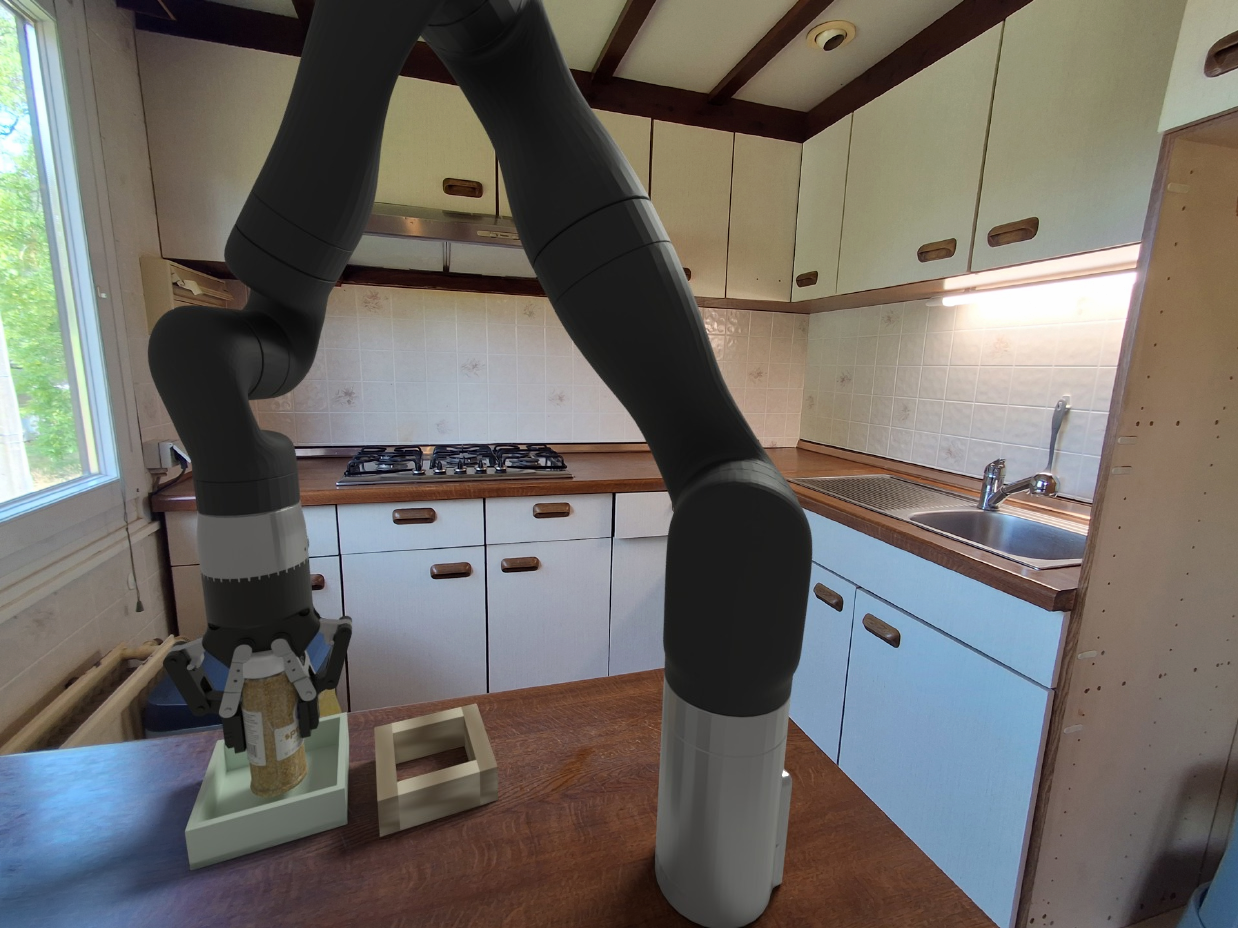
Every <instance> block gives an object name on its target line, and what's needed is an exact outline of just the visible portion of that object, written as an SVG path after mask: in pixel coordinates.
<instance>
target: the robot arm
mask: <svg viewBox="0 0 1238 928" xmlns="http://www.w3.org/2000/svg"><path fill="white" fill-rule="evenodd" d="M546 9H547V8H546V7H545V3H544V1H543V0H316V1H315V4H314V7H313V10H312V15H311V18H310V22H309V26H308V29H307V33H306V36H305V41H304V44H303V49H302V51H301V52H302V53H301V56H300V58H299V59H300V60H299V64H298V67H297V71H296V74H295V79H294V82H293V85H292V89H291V91H290V95H289V98H288V102H287V105H286V108H285V111H284V114H283V118H282V119H281V122H280V126H279V128H278V131H277V134H276V136H275V138H274V141H273V143H272V145H271V147H270V149H269V152H268V155H267V156H266V159H265V161H264V163H263V165H262V167H261V170H260V172H259V173H258V175H257V177H256V179H255V181H254V184H253V186H252V188H251V190H250V192H249V194H248V196H247V198H246V200H245V202H244V203H243V206H242V208H241V210H240V213H239V214H238V216H237V219H236V220H235V223H234V225H233V226H232V229H231V231H230V233H229V235H228V237H227V240H226V243H225V246H224V250H223V251H224V253H223V256H224V257H223V258H224V263H225V265H226V267H227V268H228V270H229V271H230V272H231V274H232V275H233V276H234V277H235V278H236V280H238V281H240V282H241V283H242V284H243V285H244V286H246V287H247V288H249V296H248V299H247V301H246V303H245V305H244V307H243V308H242V309H239V308H238V309H235V308H228V307H227V308H226V307H219V306H209V305H200V304H189V305H187V304H186V305H179V306H177V307H175V308H172V309H169V310H168V311H166V312H165V313H163V315H161V317H160V318H159V319H158V320H157V321H156V322H155V324H154V326H153V328H152V330H151V331H150V336H149V339H148V345H147V363H148V367H149V371H150V375H151V379H152V381H153V383H154V386H155V388H156V390H157V393H158V395H159V396H160V399H161V401H162V403H163V405H164V408H165V409H166V411H167V414H168V416H169V417H170V419H171V423H172V424H173V427H174V429H175V432H177V435H178V438H179V440H180V441H181V443H182V446H183V447H184V449H185V451H186V454H187V455H188V458H189V460H190V463H191V473H192V478H193V479H192V481H193V482H192V483H193V489H194V496H195V503H196V504H195V505H196V514H197V518H196V519H197V521H196V522H197V523H196V546H197V547H196V548H197V554H198V555H197V556H198V561H199V569H200V576H201V586H202V593H203V601H204V609H205V616H206V624H207V626H206V629H205V632H204V633H203V636H202V637H200V638H199V637H198V638H197V639H194V640H191V641H189V642H187V641H185V640H179V641H175V642H174V644H172V646H171V647H170V649H169V651H168V652H167V654H166V655H165V657H164V659H163V660H162V666H163V668H164V669H165V671H166V673H167V674H168V676H169V677H170V678H171V681H172V683H173V684H174V686H175V687H176V689H177V691H178V692H179V693H180V696H181V697H182V699H183V701H184V702H185V704H186V705H187V707H188V708H189V710H190V712H191V714H192V715H193V716H195V717H203V716H205V715H207V714H213V715H216V716H217V715H218V716H219V717H220V719H221V726H222V732H223V739H224V742H225V745H226V746H227V748H228V749H229V748H234V751H235V754H237V753H241V752H245V751H246V742H245V733H244V724H243V717H242V709H241V703H242V701H241V700H242V698H241V692H242V688H243V684H244V680H245V678H244V677H243V664H244V663H246V662H248V661H249V660H250V657H251V654H252V653H256V652H262V651H267V650H273V652H274V654H275V656H276V657H283V660H284V668H285V670H284V671H285V673H286V675H287V676H288V678H289V680H290V682H291V683H293V684H294V685H295V687H296V689H297V691H298V693H299V695H300V697H299V703H298V705H299V715H300V725H301V735H302V738H306V737H310V736H311V733H312V730H313V729H317V727H318V724H319V718H321V717H320V715H321V713H320V712H321V711H320V701H319V700H320V699H319V695H320V694H321V693H322V692H324V691H326V690H327V691H328V690H329V691H331V690H334V689H336V688H338V685H339V683H340V679H341V675H342V672H343V667H344V664H345V660H346V657H347V653H348V649H349V647H350V644H351V643H350V642H351V638H352V634H353V618H352V617H351V616H350V615H342V616H340V617H339V618H338V619H336V618H335V619H334V618H333V619H332V618H326V617H325V618H324V617H323V618H322V617H321V615H320V613H319V612H318V611H317V610H316V609H315V606H314V600H313V589H312V580H311V579H312V578H311V576H312V575H311V567H310V565H311V564H310V556H309V554H310V553H309V548H310V539H309V536H308V533H307V524H306V519H305V516H304V511H303V507H302V502H301V501H302V500H301V492H300V491H301V490H300V478H299V470H298V459H297V453H296V449H295V445H294V442H293V441H292V439H291V438H289V436H287V435H286V434H283V433H281V432H279V431H275V430H274V431H273V430H269V429H261V428H260V426H259V424H258V421H257V419H256V417H255V415H254V412H253V410H252V407H251V403H250V401H257V400H268V399H269V400H271V399H275V398H279V397H282V396H284V395H286V394H289V393H290V392H292V391H293V390H295V388H297V387H298V386H299V385H300V384H301V383H302V381H304V379H305V378H306V376H307V374H308V373H309V372H310V371H311V369H312V366H313V364H314V362H315V359H316V355H317V351H318V349H319V348H318V347H319V344H320V340H321V337H322V336H321V335H322V331H323V327H324V324H325V319H326V313H327V307H328V301H329V297H330V294H331V292H332V291H333V289H334V288H335V286H336V284H337V282H338V280H339V279H340V277H341V275H342V273H343V272H344V270H345V269H346V266H347V265H348V264H349V261H350V259H351V258H352V256H353V254H354V252H355V250H356V248H357V247H358V246H359V243H360V241H361V239H362V237H363V235H364V233H365V231H366V229H367V226H368V224H369V221H370V218H371V215H372V211H373V208H374V206H375V205H374V204H375V200H376V195H377V190H378V189H377V188H378V181H379V173H380V172H379V171H380V164H381V154H382V145H383V144H382V143H383V138H384V137H383V136H384V130H385V126H386V125H385V124H386V119H387V115H388V111H389V105H390V102H391V98H392V95H393V92H394V89H395V87H396V83H397V81H398V78H399V76H400V73H401V71H402V69H403V67H404V65H405V62H406V61H407V58H408V57H409V55H410V53H411V52H412V50H413V48H414V47H415V46H416V45H415V44H417V42H418V40H419V39H420V37H421V38H422V39H423V40H424V42H425V43H426V44H427V45H428V46H429V48H431V50H432V51H433V52H434V54H436V56H437V57H438V58H439V60H440V61H441V62H442V63H443V65H444V66H445V68H446V69H447V71H448V72H449V73H450V75H451V76H452V78H453V80H454V81H455V83H456V84H457V86H458V88H459V89H460V90H461V92H462V94H463V95H464V97H465V98H466V100H467V102H468V103H469V105H470V107H471V108H472V110H473V112H474V113H475V115H476V117H477V118H478V120H479V122H480V124H481V125H482V127H483V130H484V131H485V134H486V135H487V136H488V138H489V141H490V143H491V145H492V147H493V150H494V152H495V156H496V158H497V161H498V164H499V169H500V173H501V176H502V180H503V184H504V188H505V193H506V198H507V202H508V205H509V210H510V213H511V216H512V217H511V218H512V220H513V223H514V227H515V230H516V232H517V236H518V238H519V241H520V243H521V246H522V248H523V251H524V253H525V255H526V258H527V259H528V262H529V264H530V266H531V268H532V270H533V272H534V274H535V276H536V277H537V279H538V282H539V283H540V286H541V287H542V289H543V291H544V294H545V295H546V297H547V299H548V301H549V303H550V304H551V306H552V308H553V310H554V312H555V315H556V317H557V319H558V320H559V321H560V323H561V326H563V329H564V330H565V332H566V333H567V335H568V336H569V337H570V339H571V341H572V342H573V344H574V345H575V346H576V348H577V349H578V351H579V352H580V353H581V354H582V356H583V358H584V359H585V360H586V361H587V362H588V364H589V365H590V366H591V368H592V369H593V371H594V372H595V373H596V374H597V376H598V377H599V378H600V379H601V380H602V382H603V383H604V384H605V385H606V386H607V388H608V389H609V390H610V392H611V393H612V394H613V395H614V397H616V398H617V400H618V401H619V402H620V404H621V405H622V406H623V407H624V408H625V410H626V411H627V412H628V414H629V416H630V417H631V419H632V420H633V421H634V422H635V424H636V425H637V427H638V429H639V431H640V433H641V434H642V436H643V438H644V440H645V442H646V444H647V447H649V451H650V453H651V455H652V456H653V460H654V461H655V463H656V467H657V468H658V470H659V473H660V475H661V478H662V480H663V484H664V486H665V488H666V490H667V493H668V496H669V498H670V502H671V505H672V508H673V513H672V515H671V519H670V523H669V526H668V533H667V541H666V550H665V551H666V554H665V570H664V571H665V573H664V595H663V597H664V601H663V602H664V605H663V631H662V646H663V652H664V669H663V670H664V671H663V688H662V689H663V691H662V711H661V716H662V717H661V729H660V730H661V732H660V734H661V736H660V750H659V751H660V752H659V753H660V754H659V771H658V772H659V773H658V774H659V775H658V793H657V795H658V797H657V813H656V833H655V834H656V836H655V844H654V845H655V847H654V853H655V857H654V858H655V859H654V860H655V861H654V862H655V863H654V872H655V873H654V874H655V877H656V882H657V884H658V885H659V889H660V891H661V894H663V896H664V898H665V899H666V900H667V902H668V903H669V904H670V905H671V906H672V907H673V908H674V910H676V911H677V912H678V913H679V914H680V915H682V916H684V917H685V918H687V919H688V920H689V921H691V922H693V923H695V924H698V925H700V926H702V927H707V928H742V927H745V926H747V925H749V924H751V923H752V922H754V921H756V919H758V918H759V917H760V916H761V915H762V914H763V913H764V911H765V910H766V908H767V906H768V905H769V902H770V899H771V898H770V897H771V895H772V891H773V889H774V888H775V887H777V886H779V885H780V884H781V885H782V883H783V873H784V864H785V858H786V857H785V854H786V845H787V837H788V836H787V835H788V827H789V826H788V825H789V816H790V807H791V799H792V798H791V797H792V790H793V789H792V787H793V779H792V777H791V774H790V773H789V772H788V771H787V770H786V769H785V758H786V747H787V739H788V738H787V737H788V729H789V727H788V726H789V716H790V707H791V697H792V687H793V681H794V680H793V679H794V675H795V673H796V671H797V669H798V667H799V664H800V660H801V656H802V652H803V651H802V650H803V643H804V633H805V627H806V626H805V625H806V617H807V612H808V611H807V610H808V602H809V597H810V596H809V594H810V588H811V587H810V586H811V579H812V578H811V577H812V569H813V568H812V567H813V566H812V565H813V537H812V529H811V527H810V523H809V520H808V517H807V515H806V513H805V511H804V509H803V507H802V505H801V502H800V501H799V499H798V497H797V495H796V493H795V491H794V490H793V488H792V487H791V485H790V483H789V482H788V481H787V479H786V478H785V477H784V475H783V474H782V473H781V472H780V470H779V469H778V468H777V467H776V465H775V464H774V462H773V460H772V459H771V458H770V456H769V454H768V452H767V451H766V450H765V449H764V447H763V445H762V443H761V441H760V440H759V439H758V437H757V436H756V434H755V433H754V430H753V429H752V428H751V426H750V424H749V423H748V421H747V419H746V417H745V416H744V415H743V413H742V411H741V410H740V408H739V406H738V405H737V403H736V401H735V399H734V397H733V396H732V394H731V392H730V389H729V388H728V385H727V383H726V381H725V379H724V377H723V375H722V371H721V369H720V366H719V364H718V362H717V361H718V360H717V358H716V355H715V352H714V349H713V346H712V343H711V340H710V337H709V333H708V331H707V328H706V325H705V322H704V318H703V317H702V314H701V311H700V308H699V306H698V303H697V300H696V297H695V294H694V293H693V290H692V288H691V284H690V282H689V281H688V277H687V275H686V273H685V271H684V268H683V265H682V264H681V261H680V259H679V255H678V254H677V251H676V248H675V247H674V245H673V244H672V241H671V239H670V237H669V235H668V233H667V230H666V229H665V226H664V224H663V223H662V221H661V218H660V217H659V215H658V212H657V210H656V209H655V206H654V205H653V203H652V200H651V199H650V196H649V195H648V193H647V191H646V189H645V188H644V186H643V184H642V181H641V180H640V178H639V177H638V174H636V172H635V170H634V168H633V167H632V165H631V164H630V162H629V160H628V159H627V157H626V155H625V154H624V152H623V151H622V149H621V148H620V146H619V144H618V143H617V142H616V140H615V139H614V138H613V136H612V135H611V133H610V132H609V130H608V129H607V128H606V126H605V125H604V124H603V123H602V121H601V120H600V119H599V117H598V116H597V115H596V113H595V112H594V110H593V109H592V108H591V106H590V105H589V103H588V101H587V100H586V98H585V97H584V96H583V93H582V92H581V90H580V88H579V87H578V85H577V82H576V81H575V79H574V76H573V74H572V72H571V70H570V68H569V65H568V63H567V61H566V58H565V55H564V53H563V51H562V49H561V46H560V43H559V41H558V39H557V38H558V37H557V36H556V33H555V30H554V29H553V25H552V23H551V20H550V18H549V13H548V12H547V10H546ZM318 633H320V634H322V635H323V637H324V640H323V641H324V643H325V644H326V645H327V646H330V649H329V652H328V656H327V660H326V663H325V667H324V669H322V670H320V671H318V672H316V671H315V669H314V667H313V665H312V662H311V660H310V656H309V653H308V652H307V649H308V648H309V646H310V644H312V642H313V641H314V639H315V637H316V636H317V634H318ZM205 652H206V653H208V654H209V655H210V656H212V657H213V658H214V659H216V660H217V661H218V662H219V663H220V664H222V665H224V667H226V668H227V669H229V671H228V673H227V674H228V675H227V679H226V683H225V686H224V690H216V687H215V686H214V684H213V683H212V681H211V680H210V678H209V676H208V675H207V672H206V671H205V669H204V667H203V666H202V663H203V661H204V659H205V655H204V653H205ZM288 660H290V661H288ZM238 669H239V670H238Z"/></svg>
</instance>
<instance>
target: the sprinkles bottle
mask: <svg viewBox="0 0 1238 928" xmlns="http://www.w3.org/2000/svg"><path fill="white" fill-rule="evenodd" d="M288 661H290V660H288ZM238 670H239V669H238ZM284 670H285V668H284V660H283V657H276V656H275V654H274V652H273V650H267V651H262V652H256V653H252V654H251V657H250V660H249V661H248V662H246V663H244V664H243V677H244V678H245V680H244V684H243V688H242V692H241V701H242V703H241V709H242V717H243V724H244V733H245V742H246V750H247V758H248V760H249V764H250V773H251V782H250V788H251V791H252V792H253V793H254V794H255V795H257V796H260V797H273V796H277V795H280V794H284V793H285V792H287V791H289V790H291V789H293V788H294V787H296V786H297V785H298V784H299V783H301V782H302V780H303V779H304V778H305V776H306V775H307V772H308V764H307V762H306V756H305V747H304V738H302V735H301V725H300V715H299V705H298V703H299V697H300V695H299V693H298V691H297V689H296V687H295V685H294V684H293V683H291V682H290V680H289V678H288V676H287V675H286V673H285V671H284Z"/></svg>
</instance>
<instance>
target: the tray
mask: <svg viewBox="0 0 1238 928" xmlns="http://www.w3.org/2000/svg"><path fill="white" fill-rule="evenodd" d="M348 722H349V720H348V713H347V711H345V712H342V713H341V712H340V713H336V714H332V715H327V716H322V717H320V718H319V724H318V727H317V729H313V730H312V733H311V736H310V737H306V738H304V747H305V756H306V762H307V764H308V772H307V775H306V776H305V778H304V779H303V780H302V782H301V783H299V784H298V785H297V786H296V787H294V788H293V789H291V790H289V791H287V792H285V793H284V794H280V795H277V796H273V797H260V796H257V795H255V794H254V793H253V792H252V791H251V788H250V782H251V773H250V764H249V760H248V758H247V750H246V751H245V752H241V753H237V754H235V751H234V748H229V749H228V748H227V746H226V745H225V742H224V738H223V739H218V740H217V741H216V742H215V743H216V744H215V746H214V749H213V752H212V754H211V757H210V760H209V762H208V766H207V768H206V771H205V775H204V776H203V779H202V783H201V786H200V789H199V791H198V794H197V797H196V799H195V802H194V804H193V808H192V811H191V813H190V816H189V819H188V821H187V825H186V827H185V830H184V835H185V841H186V842H185V843H186V849H187V856H188V863H189V868H190V869H189V870H190V872H192V871H194V870H197V869H198V870H199V869H201V868H205V867H208V866H212V865H216V864H218V863H222V862H225V861H228V860H232V859H234V858H235V859H236V858H239V857H241V856H244V855H248V854H253V853H255V852H258V851H261V850H262V851H263V850H265V849H269V848H273V847H275V846H278V845H282V844H285V843H289V842H292V841H295V840H299V839H302V838H305V837H308V836H312V835H315V834H319V833H322V832H325V831H329V830H332V829H336V828H339V827H342V826H345V825H348V818H349V817H348V814H349V812H348V811H349V810H348V809H349V772H350V771H349V770H350V766H349V763H350V762H349V761H350V737H349V736H350V735H349V724H348Z"/></svg>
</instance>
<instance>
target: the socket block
mask: <svg viewBox="0 0 1238 928" xmlns="http://www.w3.org/2000/svg"><path fill="white" fill-rule="evenodd" d="M373 728H374V748H375V749H374V750H375V751H374V752H375V770H376V771H375V774H376V777H375V778H376V795H377V797H376V798H377V811H378V812H377V813H378V814H377V815H378V826H379V827H378V829H379V838H380V837H381V838H382V837H384V836H388V835H391V834H394V833H398V832H400V831H403V830H406V829H410V828H414V827H416V826H419V825H423V824H426V823H429V822H431V821H435V820H438V819H441V818H445V817H447V816H451V815H455V814H457V813H460V812H463V811H467V810H471V809H473V808H475V807H480V806H483V805H486V804H488V803H492V802H495V801H498V800H499V777H498V776H499V774H498V773H499V772H498V770H499V765H498V764H497V761H496V758H495V755H494V752H493V748H492V746H491V743H490V741H489V737H488V734H487V730H486V727H485V725H484V722H483V719H482V716H481V713H480V710H479V707H478V704H477V703H472V704H468V705H464V706H459V707H455V708H451V709H446V710H441V711H438V712H434V713H430V714H426V715H421V716H417V717H413V718H409V719H404V720H400V721H396V722H391V723H389V724H388V723H387V724H383V725H378V726H374V727H373ZM461 747H464V749H465V752H466V757H467V760H468V761H467V762H464V763H459V764H456V765H453V766H449V767H446V768H442V769H440V770H435V771H432V772H428V773H425V774H420V775H417V776H414V777H410V778H405V779H403V780H400V781H398V780H397V779H398V778H397V768H396V766H397V765H398V764H401V763H405V762H409V761H414V760H416V759H420V758H421V759H422V758H423V757H428V756H431V755H435V754H439V753H443V752H447V751H450V750H453V749H457V748H461Z"/></svg>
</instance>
